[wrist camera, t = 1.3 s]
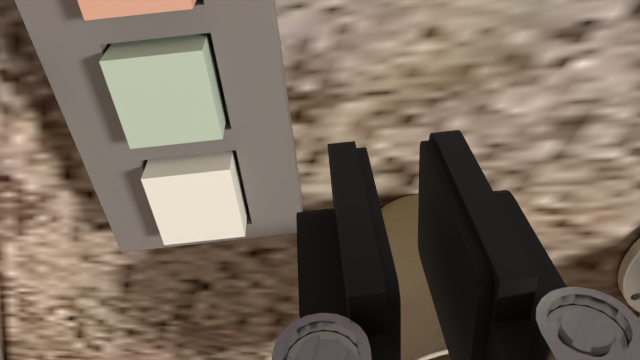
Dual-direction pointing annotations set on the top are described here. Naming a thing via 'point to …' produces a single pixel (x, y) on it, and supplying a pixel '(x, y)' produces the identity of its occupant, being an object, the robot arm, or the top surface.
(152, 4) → the terracotta button
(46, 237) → the top surface
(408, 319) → the plant pot
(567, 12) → the top surface
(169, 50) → the sage button
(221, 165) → the cream button
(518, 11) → the top surface
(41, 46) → the button panel
